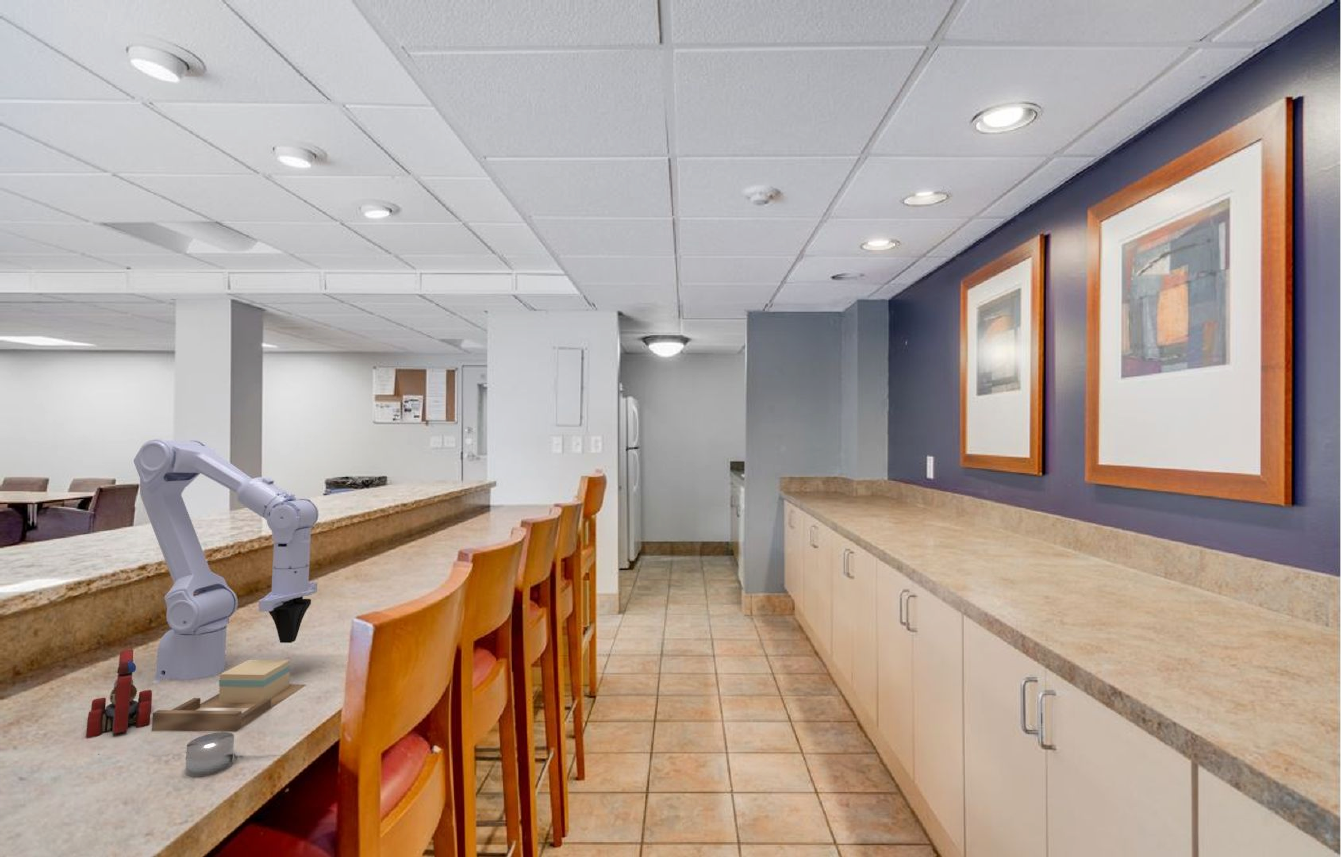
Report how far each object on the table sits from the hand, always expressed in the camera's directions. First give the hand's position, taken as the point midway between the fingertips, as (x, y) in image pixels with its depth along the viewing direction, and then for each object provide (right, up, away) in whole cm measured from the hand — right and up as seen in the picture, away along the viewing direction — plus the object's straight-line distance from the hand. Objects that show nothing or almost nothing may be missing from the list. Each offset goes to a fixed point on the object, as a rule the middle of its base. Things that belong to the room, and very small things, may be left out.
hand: (287, 641), depth 110 cm
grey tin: (+9, -6, -30) cm, 32 cm away
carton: (0, -6, -9) cm, 10 cm away
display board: (0, -7, -13) cm, 15 cm away
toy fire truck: (-13, -6, -20) cm, 24 cm away
